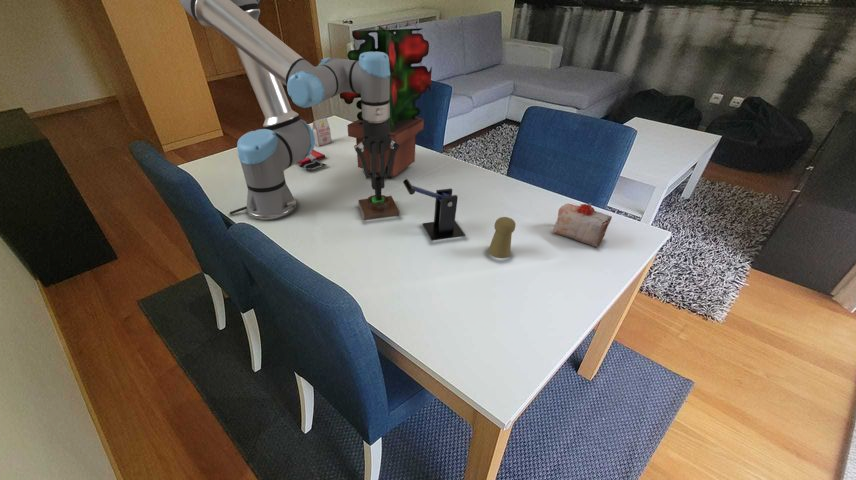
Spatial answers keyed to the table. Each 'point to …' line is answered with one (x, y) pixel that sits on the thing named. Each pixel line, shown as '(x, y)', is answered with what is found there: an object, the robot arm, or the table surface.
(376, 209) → the switch block
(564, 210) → the food item
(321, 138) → the white cardboard box
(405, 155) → the potted plant
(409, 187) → the lever
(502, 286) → the table surface
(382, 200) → the green button
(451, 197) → the lever bracket
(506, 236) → the tan pawn
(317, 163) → the red board with handle
